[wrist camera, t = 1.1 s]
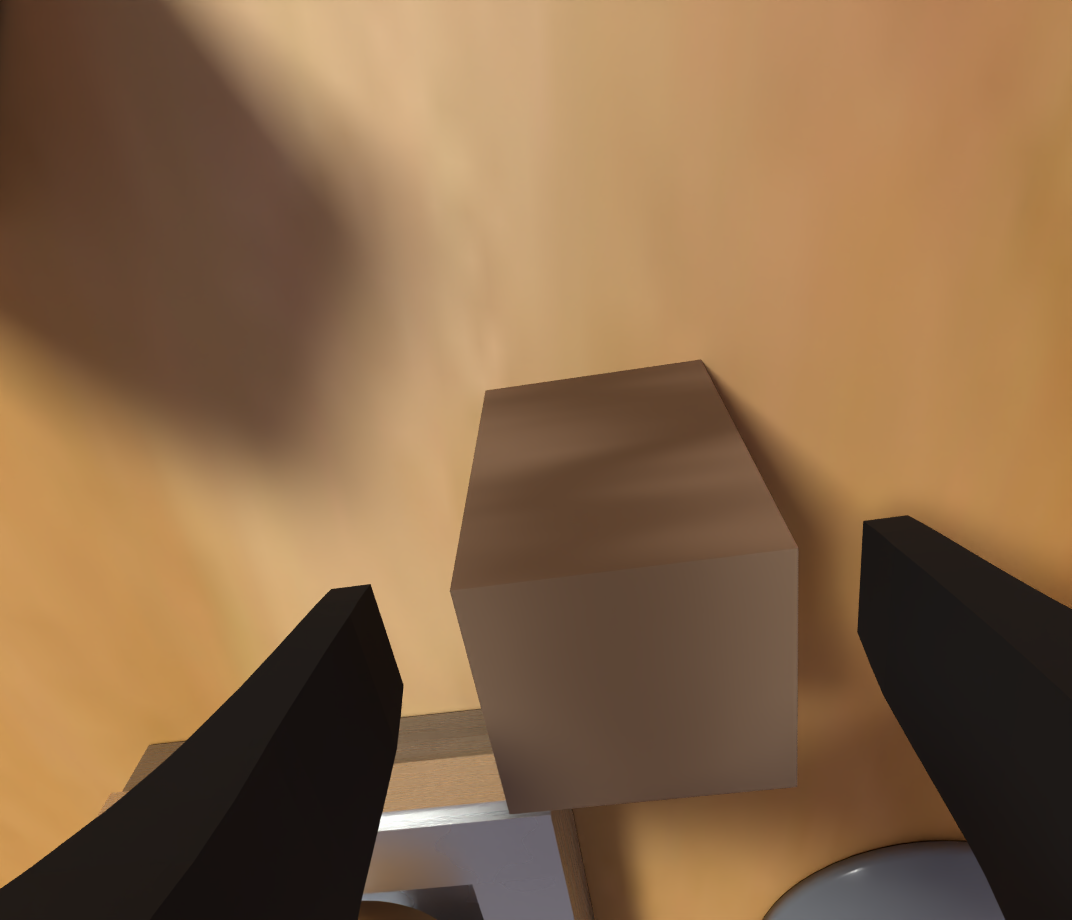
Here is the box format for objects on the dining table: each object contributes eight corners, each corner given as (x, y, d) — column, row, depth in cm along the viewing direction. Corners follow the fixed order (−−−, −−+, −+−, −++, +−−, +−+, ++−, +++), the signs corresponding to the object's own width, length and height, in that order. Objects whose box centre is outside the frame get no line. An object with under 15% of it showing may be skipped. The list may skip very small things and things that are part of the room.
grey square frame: (547, 692, 18) (548, 805, 15) (599, 944, 22) (607, 1063, 20) (144, 736, 18) (76, 850, 16) (277, 970, 23) (243, 1088, 21)
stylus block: (700, 359, 14) (798, 548, 8) (711, 539, 16) (797, 787, 10) (485, 390, 14) (449, 590, 9) (521, 563, 16) (509, 814, 11)
